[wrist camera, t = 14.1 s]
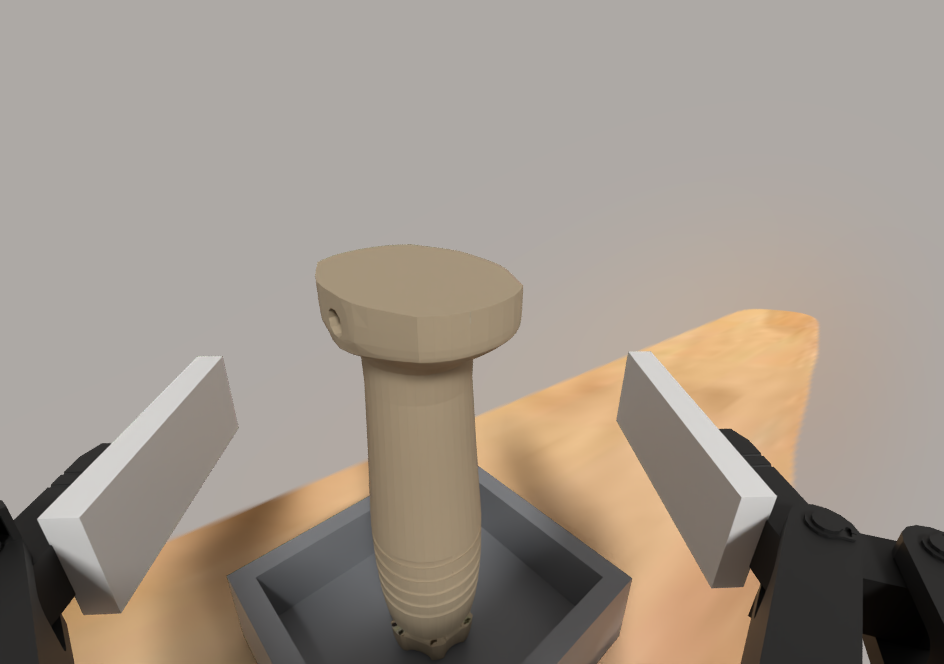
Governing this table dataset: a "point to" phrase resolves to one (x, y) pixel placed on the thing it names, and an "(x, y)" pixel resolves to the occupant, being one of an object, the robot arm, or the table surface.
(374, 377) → the handle
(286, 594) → the tray
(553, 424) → the table surface
